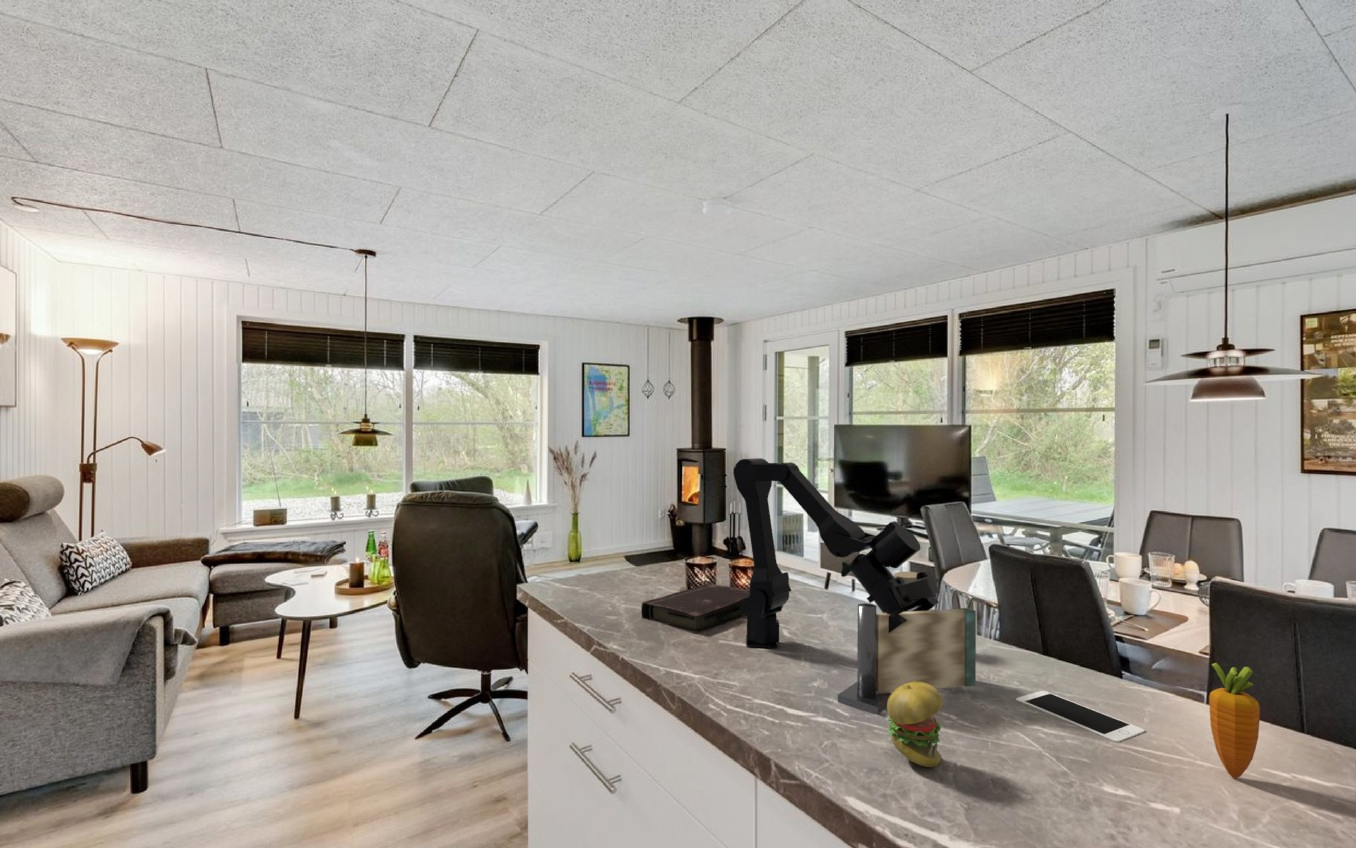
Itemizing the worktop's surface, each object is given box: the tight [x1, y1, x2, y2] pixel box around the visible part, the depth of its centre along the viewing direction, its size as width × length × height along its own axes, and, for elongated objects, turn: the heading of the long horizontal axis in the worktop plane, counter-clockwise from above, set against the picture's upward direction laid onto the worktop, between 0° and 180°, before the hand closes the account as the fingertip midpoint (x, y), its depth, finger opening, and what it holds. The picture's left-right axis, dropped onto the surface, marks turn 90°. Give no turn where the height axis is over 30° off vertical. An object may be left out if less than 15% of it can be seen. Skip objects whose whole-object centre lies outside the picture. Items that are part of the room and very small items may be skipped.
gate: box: [876, 607, 977, 693], centre depth 106 cm, size 18×2×13 cm, turn 101°
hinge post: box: [837, 602, 892, 715], centre depth 104 cm, size 7×7×16 cm
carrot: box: [1208, 662, 1261, 780], centre depth 81 cm, size 5×5×15 cm
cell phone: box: [1015, 690, 1146, 743], centre depth 99 cm, size 8×16×1 cm, turn 27°
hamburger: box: [886, 673, 944, 768], centre depth 85 cm, size 8×7×12 cm
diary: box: [640, 583, 750, 634], centre depth 152 cm, size 19×25×5 cm
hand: (938, 658), depth 107 cm, fingers closed
